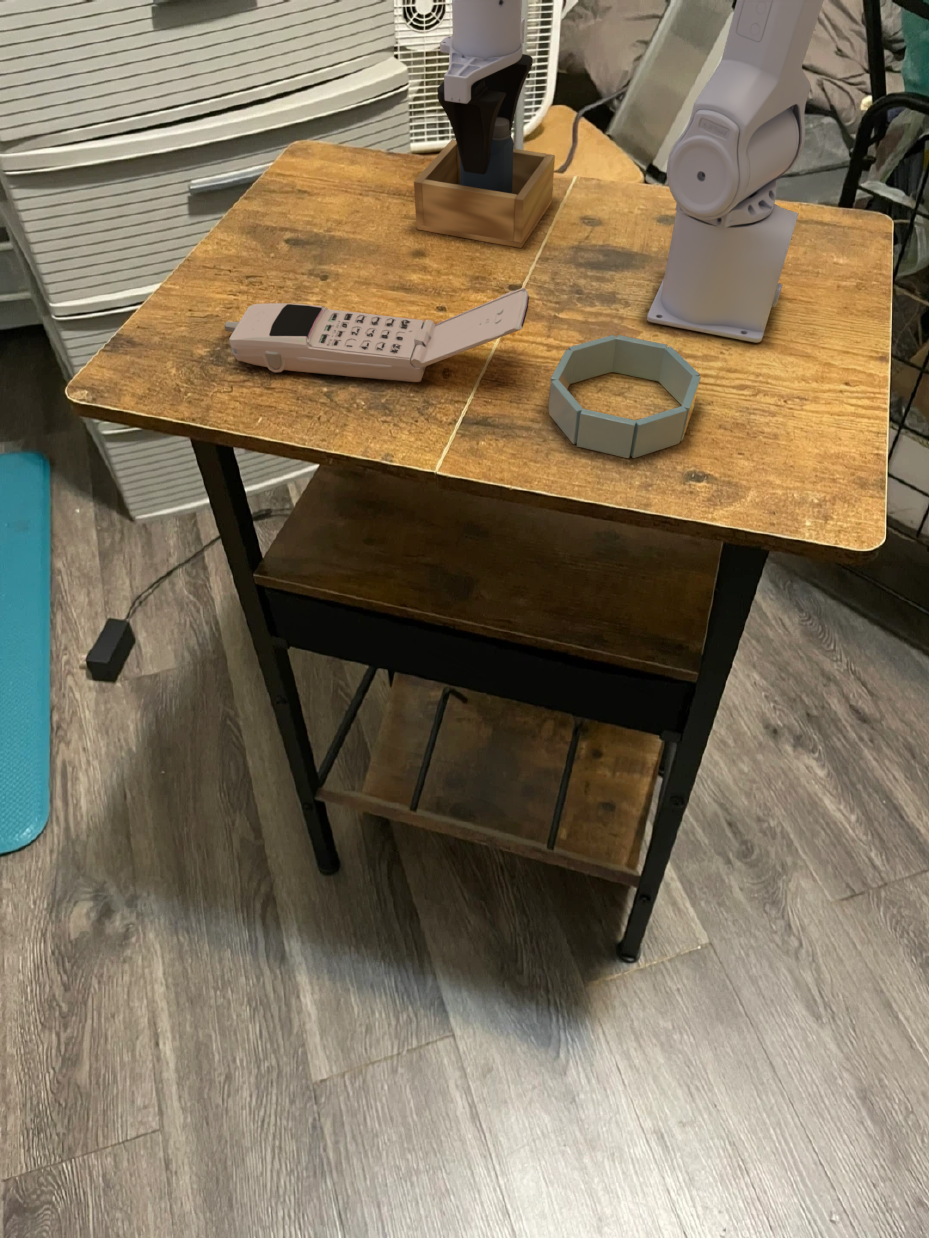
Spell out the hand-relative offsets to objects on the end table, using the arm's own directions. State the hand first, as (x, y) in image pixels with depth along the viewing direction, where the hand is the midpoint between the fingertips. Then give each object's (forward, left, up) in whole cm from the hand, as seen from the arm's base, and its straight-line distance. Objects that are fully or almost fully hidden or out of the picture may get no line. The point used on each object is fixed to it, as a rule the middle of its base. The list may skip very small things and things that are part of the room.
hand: (485, 158), depth 80 cm
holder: (0, 0, -5) cm, 5 cm away
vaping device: (0, 0, -5) cm, 5 cm away
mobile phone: (+1, +26, -6) cm, 26 cm away
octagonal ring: (-20, +25, -5) cm, 32 cm away
